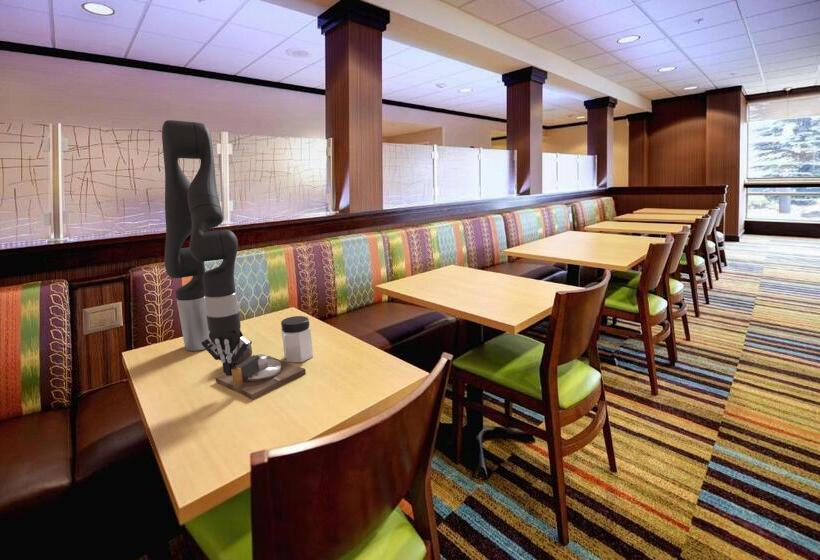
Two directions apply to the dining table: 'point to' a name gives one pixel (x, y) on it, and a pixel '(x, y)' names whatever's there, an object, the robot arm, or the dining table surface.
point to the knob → (255, 369)
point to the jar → (296, 339)
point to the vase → (246, 354)
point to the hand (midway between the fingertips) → (230, 374)
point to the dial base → (262, 387)
